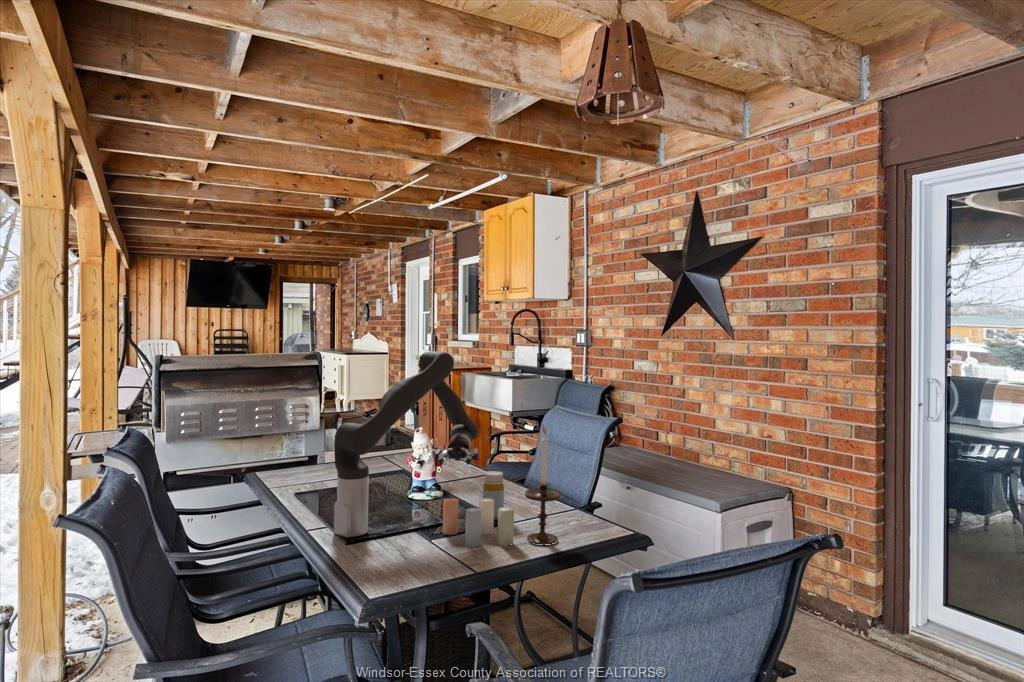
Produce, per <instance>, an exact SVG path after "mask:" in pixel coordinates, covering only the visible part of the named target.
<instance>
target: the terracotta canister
mask: <svg viewBox="0 0 1024 682" xmlns="http://www.w3.org/2000/svg"><path fill="white" fill-rule="evenodd" d="M442 506H443V507H442V511H443V512H442V515H443V516H442V534H443V535H447V536H453V535H454V536H455V535H457V534H458V533H459V499H458V498H454V497H447V498H444V499H443V503H442Z"/></svg>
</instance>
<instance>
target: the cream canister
mask: <svg viewBox="0 0 1024 682" xmlns="http://www.w3.org/2000/svg"><path fill="white" fill-rule="evenodd" d="M478 508H479V509H481V510H482V514H481V535H482V534H485V535H484V536H488V535H487V534H490V535H493V534H494V531H495V530H494V528H495V527H494V525H495V523H494V522H495V521H494V500H493V499H490V498H483V497H482V498H480V499H478ZM492 533H493V534H492Z"/></svg>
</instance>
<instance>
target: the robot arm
mask: <svg viewBox="0 0 1024 682" xmlns="http://www.w3.org/2000/svg"><path fill="white" fill-rule="evenodd" d="M454 365H455V361H454V357H453V355H451V354H450V353H448V352H444V351H435V350H431V351H425V352H422V354H420V357H419V358H418V368H419V371H420V372H419V373H417V374H414V375H412V376H409V377H406V378H404V379H402V380H401V381H398V382H397V383H396V384H394V385H392V387H391V388H390V389H388V390H387V392H385V393H384V394H383V396H382V397H381V400H380V402H379V406H378V410H377V412H376V413H375V414H374V415H373V416H372V417H370V418H369V419H368V420H367V421H365V422H363V423H356V422H355V423H354V422H344V423H342V424H340V425H339V426H338V428H337V430H336V431H335V435H334V441H333V443H334V447H333V448H334V466H335V469H336V472H337V483H336V484H337V486H336V487H337V492H336V493H337V494H336V495H337V496H336V497H337V498H336V501H334V503H333V504H334V506H333V512H334V513H333V516H334V517H333V534H335V535H337V536H340V537H343V538H350V537H359V536H363V535H365V534H367V533H368V531H369V487H370V486H369V483H370V482H369V479H370V476H369V474H370V473H369V472H370V471H369V465H367V463H365V462H364V460H362V458H361V456H363V455H367V454H368V453H369V452H370V451H372V449H374V448H375V446H376V445H377V444H378V442H380V440H381V439H382V438H383V436H385V434H386V433H387V432H388V431H389V430H390V428H392V427H393V426H394V425H395V424H396V423H397V422H398V421H399V420H400V419H401V418H402V417H403V416H405V415H406V413H408V411H410V410H411V409H413V407H414V406H415V405H417V403H418V401H420V400H421V399H422V398H423V397H425V395H426V394H427V393H429V392H430V391H431V390H432V392H433V393H434V394H435V396H436V397H437V399H438V401H439V402H440V403H439V404H441V406H442V408H443V411H444V413H445V415H446V417H447V420H448V422H449V423H450V424H451V425H454V426H453V427H451V428H450V430H449V435H450V441H449V444H448V445H447V448H446V449H445V450H442V449H441V448H440V447H439V448H437V450H436V451H435V452H434V461H435V462H438V464H440V466H443V465H444V462H445V461H446V462H450V461H459V462H460V461H461V462H462V461H465V462H466V465H469V464H471V463H472V461H475V462H477V461H478V460H479V451H478V450H479V448H478V447H474V448H473V449H472V450H471V448H472V441H474V440H476V439H477V438H479V434H480V432H479V429H478V426H477V424H476V423H475V422H474V421H473V420H472V419H471V417H470V416H469V414H468V413H467V412H466V409H465V407H464V405H463V402H462V401H461V399H460V397H459V395H458V394H457V393H456V392H455V391H454V390H453V389H452V388H451V387H450V386H449V385H448V384H447V382H446V381H445V380H446V379H447V378H448V377H449V376H450V375H451V373H452V371H453V370H454Z"/></svg>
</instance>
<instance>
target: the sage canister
mask: <svg viewBox="0 0 1024 682" xmlns="http://www.w3.org/2000/svg"><path fill="white" fill-rule="evenodd" d="M514 521H515V509H514V508H511V507H504V508H500V509H498V520H497V545H498V544H499V545H498V546H500V545H502V546H501V547H509V546H508V545H511V544H513V545H514V530H515V529H514V528H515V525H514V524H515V522H514Z"/></svg>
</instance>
